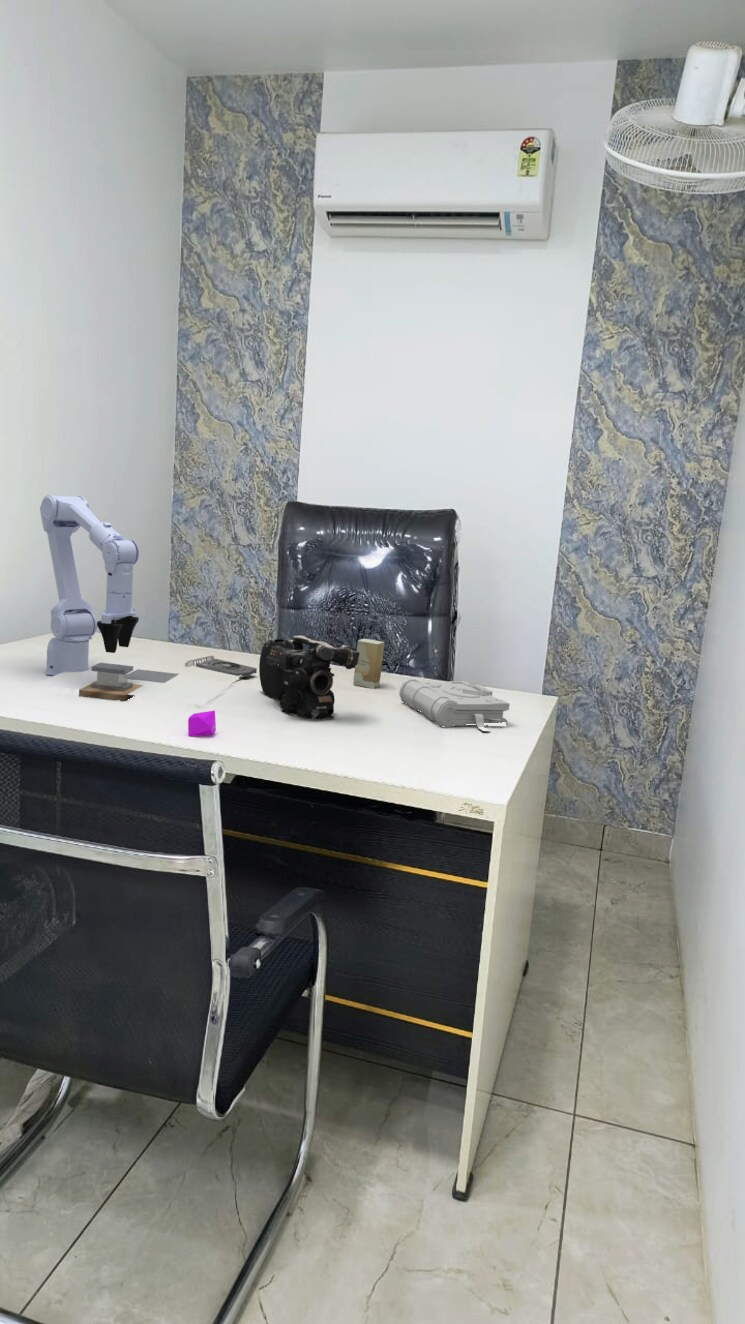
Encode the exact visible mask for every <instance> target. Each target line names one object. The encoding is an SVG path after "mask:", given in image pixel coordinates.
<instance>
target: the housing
mask: <svg viewBox="0 0 745 1324" xmlns="http://www.w3.org/2000/svg"><path fill="white" fill-rule="evenodd" d="M90 668H91V672H96V681H93V682H91V683H90V684H91V688H97V689H106V690H115V691H123V692H125V691H126V690H128V689H130V688H132V687H133V684H134V683H133V682H129V681H128V679H127V674H129V673H131V672H133V671H134V666H133V665H125V664H117V663H109V662H99V663H96V664H94V665H92V666H91V667H90Z"/></svg>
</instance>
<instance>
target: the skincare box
mask: <svg viewBox="0 0 745 1324" xmlns="http://www.w3.org/2000/svg"><path fill="white" fill-rule="evenodd" d="M356 647H357V648H356V650H357V652H359V653H360V654H359V658H358V663H357V665H356V666H355V668H354V672H353V683H352V685H353V686H358V687H363V688H364V687H365V688H368V687H369V689H373V688H374V689H376V688H378V687H380V683H381V676H382V668H383V657H384V649H385V642H384V641H380V640H376V639H368V638H361V639H358V640H357V646H356ZM375 687H376V688H375Z"/></svg>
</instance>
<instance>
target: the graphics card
mask: <svg viewBox="0 0 745 1324" xmlns="http://www.w3.org/2000/svg"><path fill="white" fill-rule="evenodd" d="M189 663H191V664H189ZM192 666H195V667H197V668H201V669H205V670H209V671H213V672H218V673H221V674H222V673H223V674H227V675H232V676H235V677H238V679H240V678H243V677H249V676H251V675H253V674H258V673H257V671H258V670H257V669H258V668H256V667H253V666H249V665H244V664H240V663H236V662H232V661H229V660H224V659H223V660H222V659H220V658H215V655H209V656H203V657H201V658H195V659H191V660H187V661H186V662H184V667H192Z"/></svg>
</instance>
